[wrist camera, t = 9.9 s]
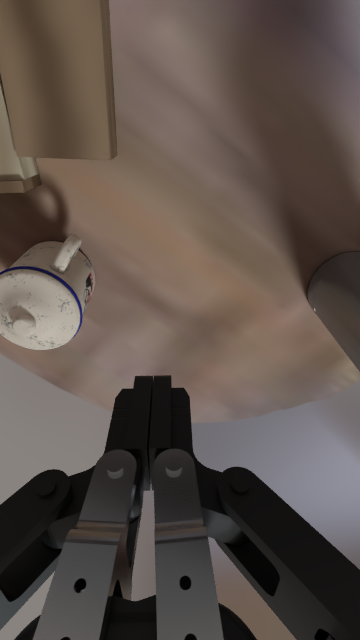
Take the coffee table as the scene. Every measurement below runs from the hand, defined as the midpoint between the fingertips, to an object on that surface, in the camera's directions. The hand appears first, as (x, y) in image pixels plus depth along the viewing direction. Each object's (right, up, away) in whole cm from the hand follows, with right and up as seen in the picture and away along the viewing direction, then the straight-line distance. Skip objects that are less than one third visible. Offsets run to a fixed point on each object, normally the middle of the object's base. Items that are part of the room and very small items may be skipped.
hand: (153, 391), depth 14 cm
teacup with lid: (-13, +9, +25) cm, 29 cm away
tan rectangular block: (-9, +25, +16) cm, 31 cm away
